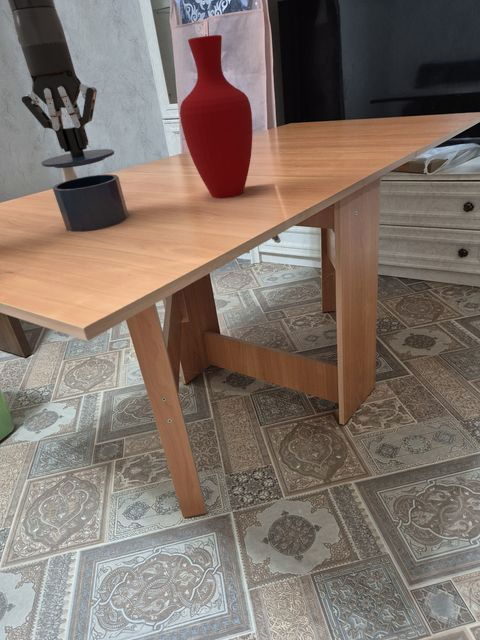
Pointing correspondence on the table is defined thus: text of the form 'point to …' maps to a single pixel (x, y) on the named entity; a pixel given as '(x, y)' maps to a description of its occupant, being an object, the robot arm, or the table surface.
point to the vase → (217, 123)
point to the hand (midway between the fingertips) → (75, 149)
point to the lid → (76, 154)
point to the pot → (91, 202)
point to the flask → (68, 174)
